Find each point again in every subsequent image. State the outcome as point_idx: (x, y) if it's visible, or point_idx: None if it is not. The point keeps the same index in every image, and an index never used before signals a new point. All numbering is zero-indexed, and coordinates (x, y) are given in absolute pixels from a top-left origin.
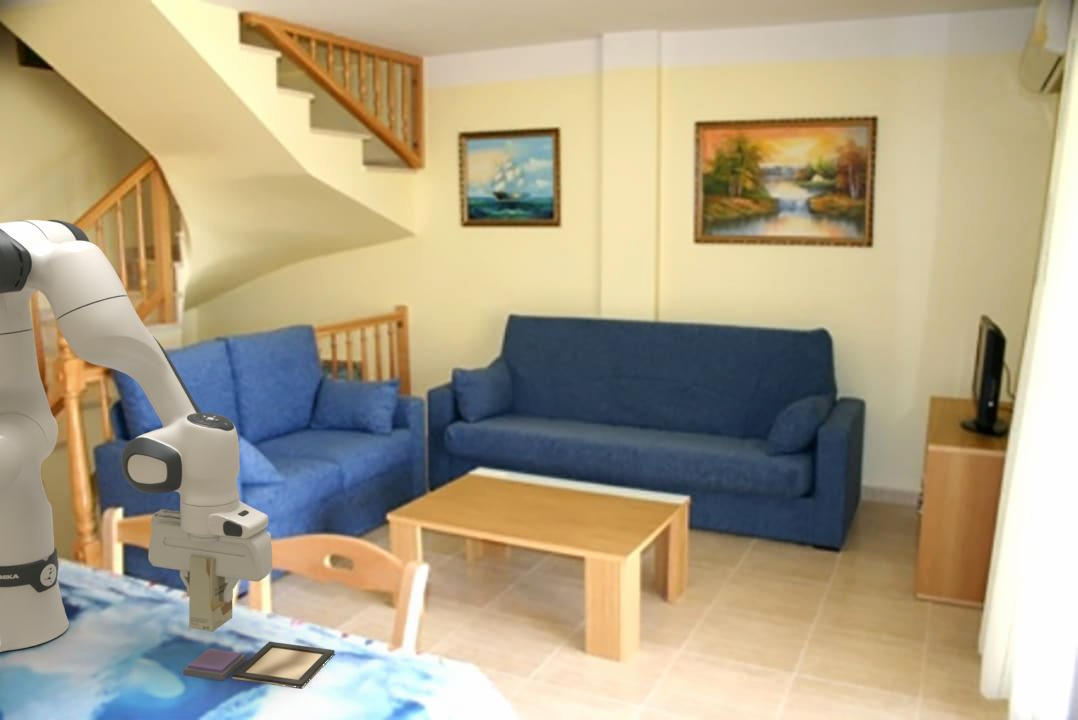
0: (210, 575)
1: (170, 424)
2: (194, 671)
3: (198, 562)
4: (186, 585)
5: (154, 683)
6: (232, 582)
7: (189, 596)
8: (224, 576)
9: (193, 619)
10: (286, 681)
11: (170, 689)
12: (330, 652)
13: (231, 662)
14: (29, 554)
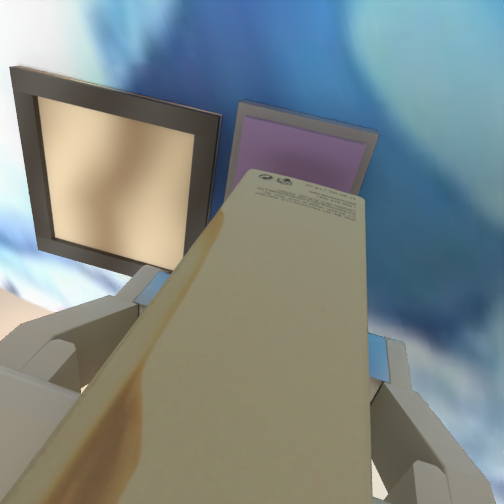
0: (113, 389)
1: None
2: (338, 124)
3: None
4: (413, 397)
5: (468, 65)
6: (11, 333)
7: (385, 338)
8: (5, 369)
9: (340, 211)
10: (54, 81)
11: (399, 23)
12: (40, 239)
13: (236, 171)
14: None
